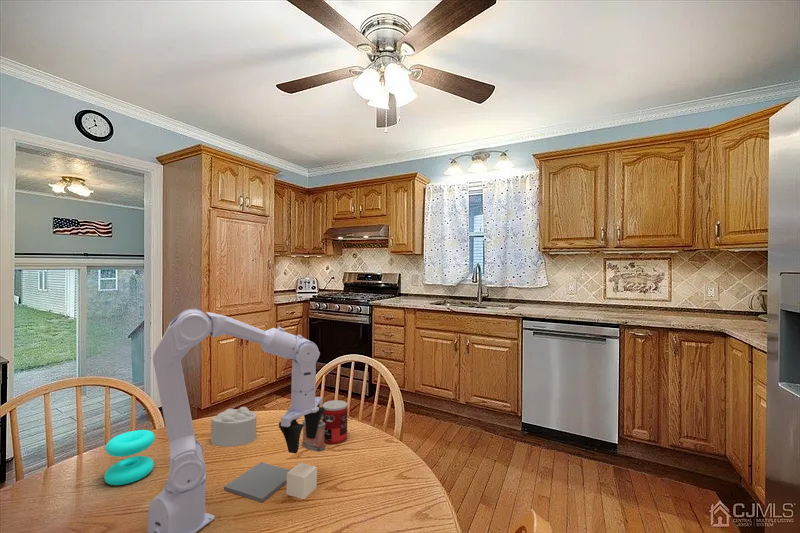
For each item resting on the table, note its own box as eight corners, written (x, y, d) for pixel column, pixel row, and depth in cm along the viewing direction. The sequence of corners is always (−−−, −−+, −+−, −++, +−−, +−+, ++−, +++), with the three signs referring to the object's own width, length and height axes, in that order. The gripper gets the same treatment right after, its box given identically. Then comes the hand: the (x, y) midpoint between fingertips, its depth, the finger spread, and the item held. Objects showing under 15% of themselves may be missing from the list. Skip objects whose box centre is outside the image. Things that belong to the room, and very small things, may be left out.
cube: (303, 499, 79) (304, 477, 79) (286, 494, 81) (286, 473, 81) (316, 487, 84) (317, 467, 84) (299, 483, 85) (300, 462, 86)
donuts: (97, 448, 82) (117, 430, 91) (95, 491, 81) (115, 468, 91) (146, 442, 85) (160, 426, 94) (144, 483, 84) (159, 463, 94)
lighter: (299, 446, 104) (300, 413, 104) (307, 441, 107) (307, 409, 107) (319, 452, 100) (320, 418, 101) (327, 447, 103) (328, 414, 104)
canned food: (319, 436, 111) (320, 402, 111) (343, 431, 114) (343, 398, 115) (324, 446, 104) (325, 410, 104) (349, 441, 107) (350, 406, 108)
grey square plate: (262, 502, 78) (262, 498, 78) (223, 489, 82) (223, 486, 82) (296, 474, 89) (296, 471, 89) (260, 465, 93) (261, 462, 93)
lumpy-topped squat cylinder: (229, 429, 115) (230, 403, 115) (263, 433, 112) (264, 407, 113) (205, 444, 105) (206, 415, 105) (242, 448, 102) (243, 419, 103)
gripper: (300, 400, 76) (298, 462, 75) (332, 381, 90) (331, 434, 89) (273, 396, 78) (272, 457, 78) (309, 379, 92) (308, 430, 91)
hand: (302, 444), depth 84 cm, fingers open, 7 cm apart
